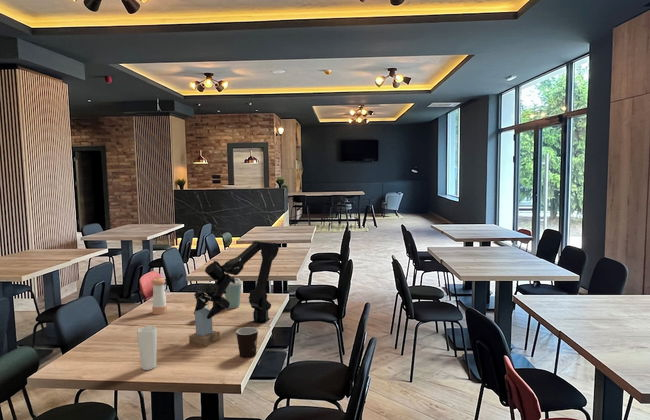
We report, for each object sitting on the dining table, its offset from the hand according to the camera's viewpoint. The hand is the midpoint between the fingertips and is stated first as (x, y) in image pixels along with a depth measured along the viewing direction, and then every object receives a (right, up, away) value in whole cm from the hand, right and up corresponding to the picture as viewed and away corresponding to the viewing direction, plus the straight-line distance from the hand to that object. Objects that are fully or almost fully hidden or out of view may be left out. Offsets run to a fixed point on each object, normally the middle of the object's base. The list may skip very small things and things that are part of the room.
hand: (200, 316), depth 190 cm
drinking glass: (-13, -14, -23) cm, 30 cm away
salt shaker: (-35, -9, +45) cm, 58 cm away
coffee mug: (+23, -12, -12) cm, 29 cm away
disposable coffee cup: (+3, -7, +52) cm, 53 cm away
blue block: (+1, -8, +2) cm, 8 cm away
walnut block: (+1, -12, +2) cm, 12 cm away
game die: (-7, -9, +31) cm, 33 cm away
